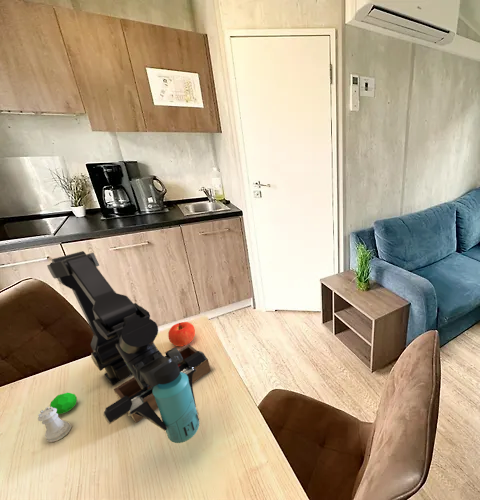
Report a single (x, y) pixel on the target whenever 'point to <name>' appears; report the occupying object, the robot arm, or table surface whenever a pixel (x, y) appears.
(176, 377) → the beverage bottle
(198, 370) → the divided wooden tray
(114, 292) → the robot arm
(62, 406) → the polyhedron
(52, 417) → the rook chess piece
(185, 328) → the apple
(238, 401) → the table surface
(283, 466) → the table surface
